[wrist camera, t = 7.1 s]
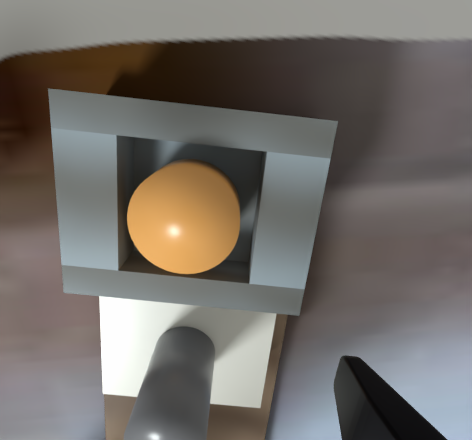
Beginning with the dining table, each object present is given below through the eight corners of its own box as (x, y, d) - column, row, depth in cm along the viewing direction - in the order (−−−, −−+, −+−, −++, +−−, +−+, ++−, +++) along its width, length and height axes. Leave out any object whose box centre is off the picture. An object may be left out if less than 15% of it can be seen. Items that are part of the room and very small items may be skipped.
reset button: (234, 256, 14) (233, 279, 12) (142, 246, 14) (127, 268, 12) (245, 164, 13) (246, 174, 11) (143, 153, 13) (127, 161, 11)
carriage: (258, 375, 21) (267, 510, 14) (118, 362, 21) (55, 492, 14) (273, 280, 19) (293, 383, 12) (116, 264, 18) (40, 359, 11)
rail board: (252, 479, 28) (257, 604, 21) (114, 467, 28) (70, 590, 21) (317, 118, 18) (366, 124, 11) (105, 94, 18) (18, 85, 11)
